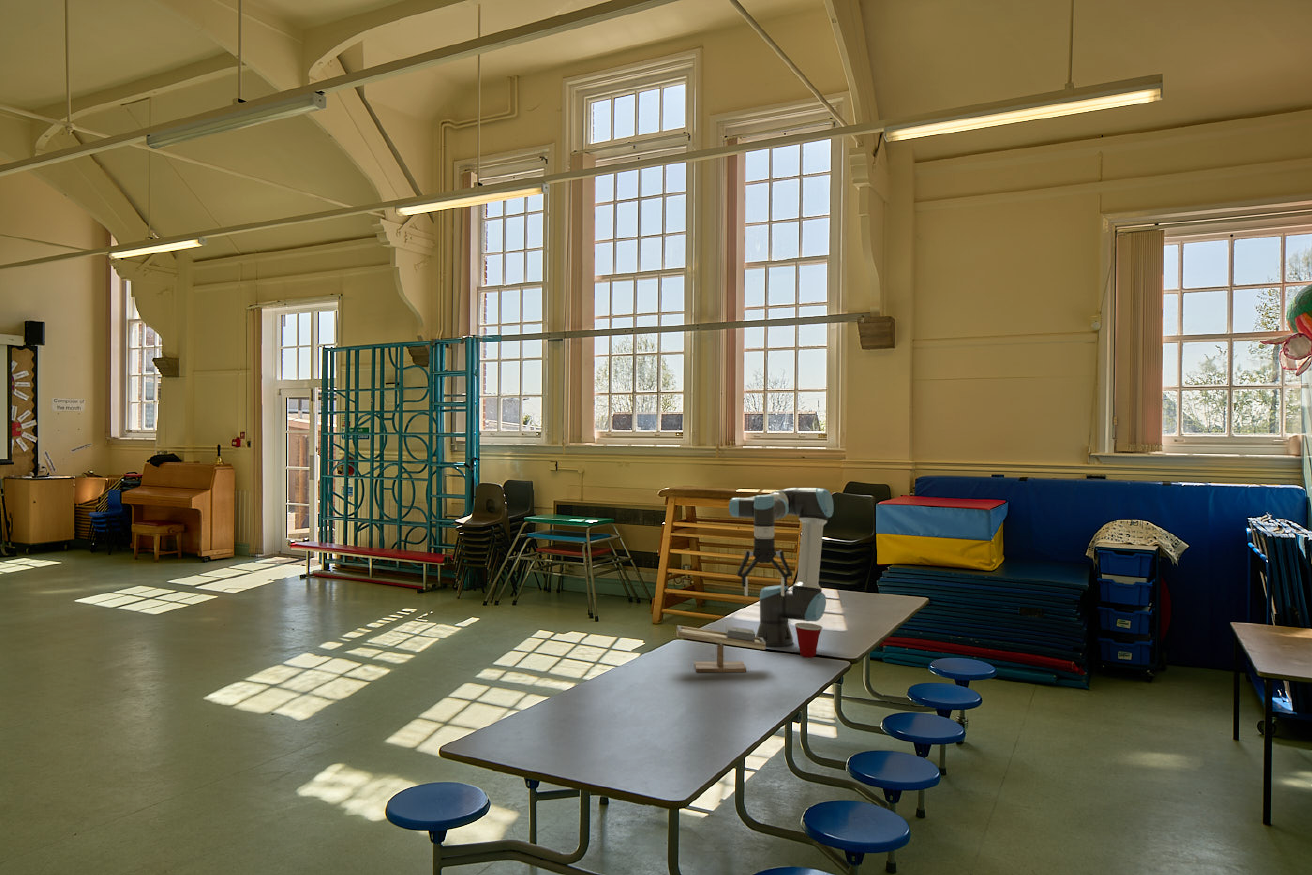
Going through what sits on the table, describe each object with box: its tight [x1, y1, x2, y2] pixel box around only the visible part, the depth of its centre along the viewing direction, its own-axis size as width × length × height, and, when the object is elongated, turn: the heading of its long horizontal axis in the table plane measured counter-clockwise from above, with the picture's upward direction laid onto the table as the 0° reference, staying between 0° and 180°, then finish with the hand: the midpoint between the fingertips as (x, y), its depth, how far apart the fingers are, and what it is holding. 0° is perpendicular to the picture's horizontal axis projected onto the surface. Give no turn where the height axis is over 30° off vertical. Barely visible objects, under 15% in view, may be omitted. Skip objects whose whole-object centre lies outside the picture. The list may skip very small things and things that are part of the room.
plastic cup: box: [794, 622, 824, 658], centre depth 340 cm, size 11×11×12 cm
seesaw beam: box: [675, 624, 767, 651], centre depth 321 cm, size 10×32×3 cm, turn 91°
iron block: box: [725, 625, 756, 642], centre depth 322 cm, size 7×10×4 cm
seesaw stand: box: [694, 643, 747, 673], centre depth 321 cm, size 10×18×9 cm, turn 91°
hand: (764, 595), depth 322 cm, fingers open, 13 cm apart
